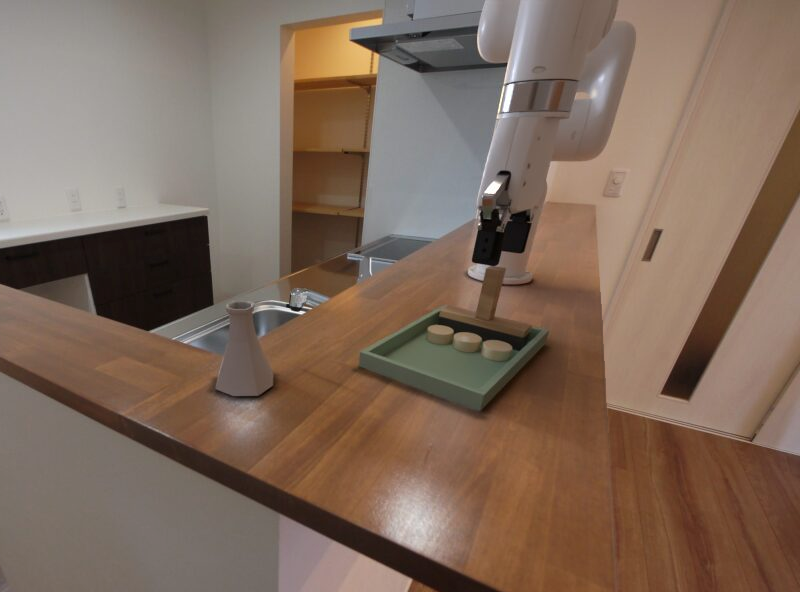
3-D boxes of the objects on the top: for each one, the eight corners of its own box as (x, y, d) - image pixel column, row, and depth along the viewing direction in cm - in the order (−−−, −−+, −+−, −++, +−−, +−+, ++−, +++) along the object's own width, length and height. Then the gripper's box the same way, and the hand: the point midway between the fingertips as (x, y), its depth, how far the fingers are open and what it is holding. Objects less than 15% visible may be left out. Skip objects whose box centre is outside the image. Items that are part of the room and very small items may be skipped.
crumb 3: (486, 347, 59) (489, 337, 59) (513, 355, 57) (516, 344, 56) (476, 355, 57) (478, 345, 56) (504, 364, 55) (507, 353, 54)
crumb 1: (432, 332, 64) (434, 322, 63) (456, 338, 62) (458, 329, 61) (421, 339, 62) (423, 329, 61) (445, 346, 60) (447, 336, 59)
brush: (445, 323, 67) (457, 259, 62) (526, 344, 60) (547, 274, 55) (436, 328, 65) (448, 262, 60) (519, 351, 58) (540, 278, 53)
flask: (229, 366, 56) (223, 292, 51) (282, 373, 54) (281, 297, 49) (204, 393, 50) (195, 312, 45) (263, 402, 48) (259, 319, 43)
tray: (440, 320, 70) (443, 304, 69) (544, 347, 61) (549, 330, 59) (358, 369, 55) (359, 351, 54) (478, 415, 46) (484, 395, 44)
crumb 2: (458, 339, 62) (460, 329, 61) (483, 346, 60) (486, 336, 59) (447, 347, 59) (449, 337, 59) (473, 355, 57) (475, 344, 56)
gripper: (524, 110, 56) (493, 244, 64) (471, 101, 45) (442, 264, 53) (590, 107, 52) (548, 251, 60) (549, 96, 41) (504, 275, 49)
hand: (498, 257), depth 57 cm, fingers open, 9 cm apart
